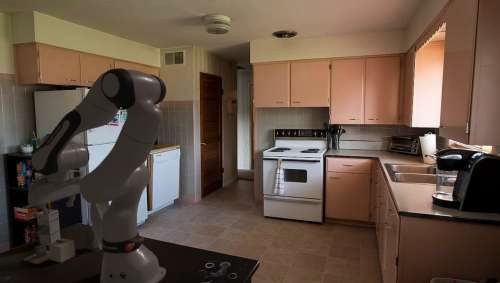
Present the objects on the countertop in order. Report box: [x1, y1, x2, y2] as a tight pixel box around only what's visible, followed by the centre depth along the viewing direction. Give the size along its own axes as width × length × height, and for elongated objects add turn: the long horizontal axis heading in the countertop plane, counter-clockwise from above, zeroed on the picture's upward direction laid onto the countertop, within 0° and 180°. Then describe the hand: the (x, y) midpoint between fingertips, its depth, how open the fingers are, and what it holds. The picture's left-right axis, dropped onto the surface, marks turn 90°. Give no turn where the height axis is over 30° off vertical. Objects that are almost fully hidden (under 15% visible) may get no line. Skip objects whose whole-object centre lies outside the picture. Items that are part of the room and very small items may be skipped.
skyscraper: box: [86, 201, 110, 252], centre depth 125 cm, size 8×8×28 cm
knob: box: [48, 238, 76, 263], centre depth 116 cm, size 6×6×7 cm
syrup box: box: [36, 209, 61, 247], centre depth 128 cm, size 6×6×14 cm
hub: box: [23, 244, 50, 265], centre depth 116 cm, size 8×8×5 cm
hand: (58, 210), depth 114 cm, fingers open, 8 cm apart
